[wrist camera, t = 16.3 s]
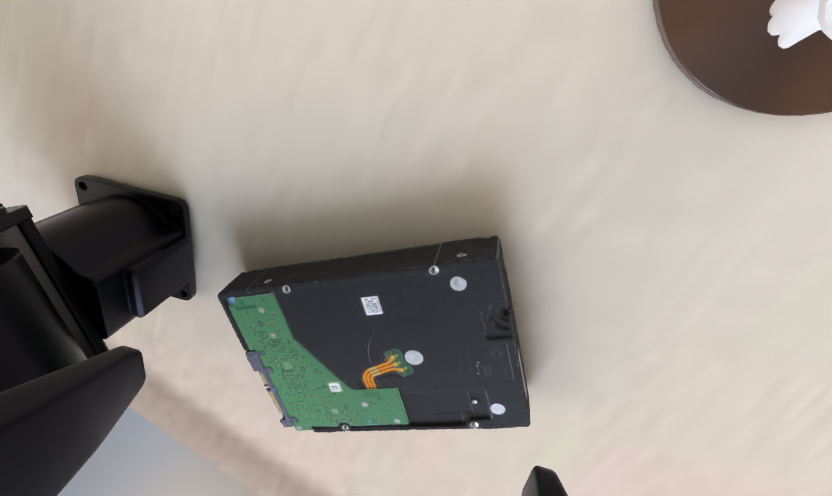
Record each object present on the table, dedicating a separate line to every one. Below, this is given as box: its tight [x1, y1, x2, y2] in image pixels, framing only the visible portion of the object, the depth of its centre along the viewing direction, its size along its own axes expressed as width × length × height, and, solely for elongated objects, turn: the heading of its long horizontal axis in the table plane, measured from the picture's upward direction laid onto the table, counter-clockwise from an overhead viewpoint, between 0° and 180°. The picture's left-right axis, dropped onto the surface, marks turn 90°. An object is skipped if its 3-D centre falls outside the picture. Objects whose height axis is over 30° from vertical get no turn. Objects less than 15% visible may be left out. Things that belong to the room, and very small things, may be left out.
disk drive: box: [218, 236, 530, 432], centre depth 23 cm, size 10×3×15 cm
